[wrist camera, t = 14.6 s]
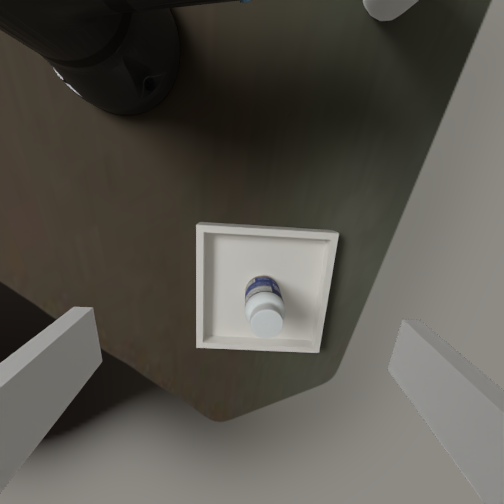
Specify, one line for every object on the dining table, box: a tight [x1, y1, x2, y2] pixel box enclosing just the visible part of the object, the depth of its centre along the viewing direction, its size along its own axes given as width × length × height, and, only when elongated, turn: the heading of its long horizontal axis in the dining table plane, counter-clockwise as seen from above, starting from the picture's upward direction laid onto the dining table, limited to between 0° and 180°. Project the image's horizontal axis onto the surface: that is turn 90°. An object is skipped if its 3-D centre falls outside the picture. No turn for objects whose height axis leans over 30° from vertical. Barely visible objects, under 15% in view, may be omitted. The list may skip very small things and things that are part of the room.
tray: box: [196, 222, 339, 353], centre depth 37 cm, size 20×20×2 cm
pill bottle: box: [245, 275, 285, 338], centre depth 33 cm, size 5×5×10 cm
